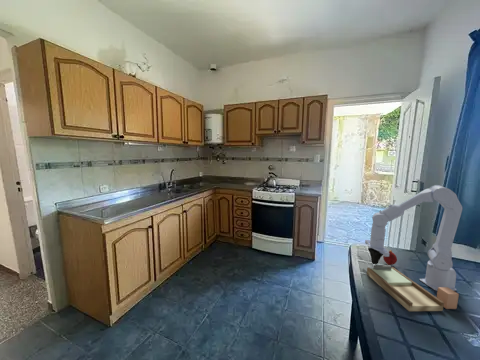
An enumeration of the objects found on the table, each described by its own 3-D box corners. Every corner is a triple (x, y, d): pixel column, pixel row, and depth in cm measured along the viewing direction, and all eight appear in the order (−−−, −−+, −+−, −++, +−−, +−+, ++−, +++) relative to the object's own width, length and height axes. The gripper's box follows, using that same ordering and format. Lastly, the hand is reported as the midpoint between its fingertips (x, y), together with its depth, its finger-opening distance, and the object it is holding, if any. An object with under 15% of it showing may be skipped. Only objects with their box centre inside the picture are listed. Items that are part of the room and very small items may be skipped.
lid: (391, 270, 100) (392, 265, 100) (411, 285, 89) (412, 278, 89) (370, 270, 100) (371, 265, 99) (387, 285, 89) (388, 279, 88)
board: (392, 273, 101) (393, 267, 101) (442, 310, 77) (444, 302, 77) (366, 273, 101) (367, 267, 100) (408, 311, 77) (410, 303, 76)
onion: (398, 268, 106) (400, 253, 105) (385, 267, 107) (387, 252, 106) (392, 263, 112) (394, 248, 111) (380, 261, 113) (382, 247, 112)
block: (445, 301, 83) (447, 287, 82) (456, 308, 79) (458, 294, 78) (435, 301, 83) (438, 287, 82) (446, 308, 79) (448, 294, 78)
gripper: (360, 231, 110) (357, 256, 112) (380, 243, 95) (376, 271, 97) (373, 231, 110) (370, 256, 112) (395, 243, 96) (391, 271, 97)
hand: (374, 263), depth 105 cm, fingers closed
